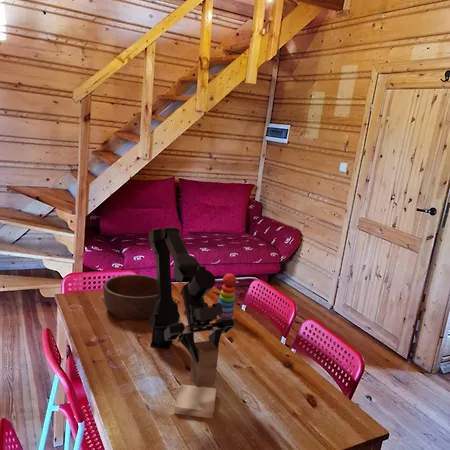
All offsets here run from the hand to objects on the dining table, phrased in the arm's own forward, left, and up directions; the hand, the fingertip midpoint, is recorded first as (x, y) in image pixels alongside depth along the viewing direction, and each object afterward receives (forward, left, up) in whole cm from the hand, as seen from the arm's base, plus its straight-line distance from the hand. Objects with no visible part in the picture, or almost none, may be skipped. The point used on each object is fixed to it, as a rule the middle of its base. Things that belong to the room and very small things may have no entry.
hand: (206, 360), depth 111 cm
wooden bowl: (-32, +55, -14) cm, 65 cm away
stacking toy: (+3, +56, -14) cm, 57 cm away
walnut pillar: (-1, +1, -7) cm, 7 cm away
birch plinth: (-2, +1, -13) cm, 14 cm away
